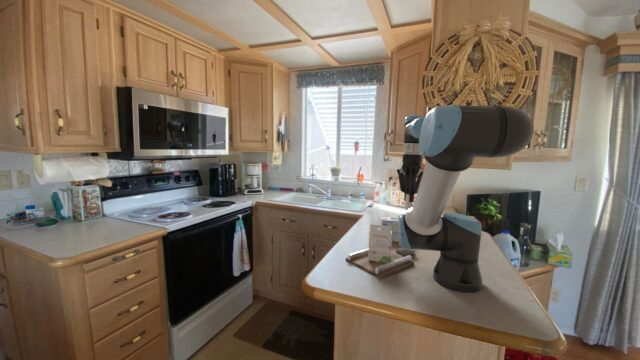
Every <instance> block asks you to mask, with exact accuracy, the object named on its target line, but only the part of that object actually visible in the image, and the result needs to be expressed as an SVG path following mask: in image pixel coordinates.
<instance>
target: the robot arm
mask: <svg viewBox="0 0 640 360" xmlns="http://www.w3.org/2000/svg"><path fill="white" fill-rule="evenodd" d="M404 119H405V120H404V125H403V126H404V128H403V129H404V131H403V132H404V133H403V145H402V152H403V154H402V165H401V167H400V168H398V169H396V173H397V174H398V176H397V177H398V182H399V188H400V189H399V190H400V192H401V193H403V194H404V196H403V197H404V198H403V201H404V202H405V203H404V204H405V205H404V206H405V207H404V210H406V212H405V213H403V214H399V215H398V217H397V218H398V224H399V239H400V245H401V246H400V247H403V248H407V249H411V250H417V251H418V250H419V251H430V252H431V251H432V252H440V255H439V257H438V260H437V261H436V263H435V266H434V268H433V272H432V278H433V279H434V280H435V282H437V283H438V284H440V285H442V286H443V287H445V288H448V289H450V290H454V291H458V292H463V293H464V292H465V293H474V292H479V291H481V290H482V288H483V278H482V273H481V270H480V265H479V258H480V257H479V256H480V251H481V250H480V248H481V240H482V236H483V234H482V223H481V221H480V220H479V219H477V218H474V217H472V216H469V215H466V214H462V213H457V212H451V211H449V212H447V211H446V212H444V211H445V208H446V206H447V203H448V202H449V199H450V197H451V194H452V193H453V191H454V188H455V187H456V186H455V185H456V183H457V181H458V179H459V176H460V175H461V172H465V171H467V170H468V169H469V168H471V166H472V165H473V162H474V161H475V159H476V158H492V159H493V158H494V159H496V158H505V157H509V156H512V155H515V154H517V153H519V152H521V151H523V149H525V148H526V147H527V146H528V145H529V144H530V142H531V141H532V139H533V137H534V133H535V126H534V122H533V120H532V118H531V117H530V115H528V114H527V113H526V112H525V111H524V110H522V109H519V108H517V107H514V106H509V105H458V104H449V105H437V106H435V107H433V108H431V109H430V110H429V111H428V113H426V116H423V115H417V114H416V115H413V114H412V115H407V116H406V117H405V118H404ZM422 155H423V159H424V160H425V162H426V163H425V166H424V170H423V169H422V166H421V164H422ZM415 195H416V196H415ZM443 212H444V213H443Z"/></svg>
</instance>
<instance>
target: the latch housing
mask: <svg viewBox="0 0 640 360" xmlns="http://www.w3.org/2000/svg"><path fill="white" fill-rule="evenodd" d="M415 250H416V249H412V250H411V249H407V248H403V247H402V246H400V247H398V248H396V250H395V253H397V254H399V255H401V256H403V257H405V256H408V255H410V256H413V255H415V253H416V251H415Z"/></svg>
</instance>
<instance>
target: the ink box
mask: <svg viewBox="0 0 640 360" xmlns="http://www.w3.org/2000/svg"><path fill="white" fill-rule="evenodd" d="M380 228H382V229H384V230H380ZM368 234H369V235H368V236H369V237H368V248H369V254H368V260H370V261H376V262H382V263H389V262H390V260H391V253H392V246H393V241H392V231H391V226H382V225H380V224H379V225H378V224H372V223H371V224H370V225H369V233H368Z"/></svg>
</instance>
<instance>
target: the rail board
mask: <svg viewBox="0 0 640 360" xmlns="http://www.w3.org/2000/svg"><path fill="white" fill-rule="evenodd" d="M402 257H403V256H400V255H398V254H395V253H392V252H391V260H390V262H392V261H394V260H397V259H400V258H402ZM345 261H347V262H348V263H350V264H352V265H354V266H356V267H358V268H360V269H362V270H364V271H366V272H368V273H370V274H372V275H373V276H375V277H377V278H378V279H383V278H385V277H388V276H390V275H392V274H395V273H398V272H400V271H402V270H405V269H407V268H410V267H411V266H414V265H415V261H412V260H411V261H410V262H407V263H405V264H402V265H400V266H397V267H395V268H392V269H390V270H387V271H385V272H382V273H380V274H376V273H375V268H376V267H378V266H381V265H384V264H386V263H382V262H376V261H370V260H368V255H365V256H362V257H359V258H356V259H352V260H349V259H348V256H347V257H345Z"/></svg>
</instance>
